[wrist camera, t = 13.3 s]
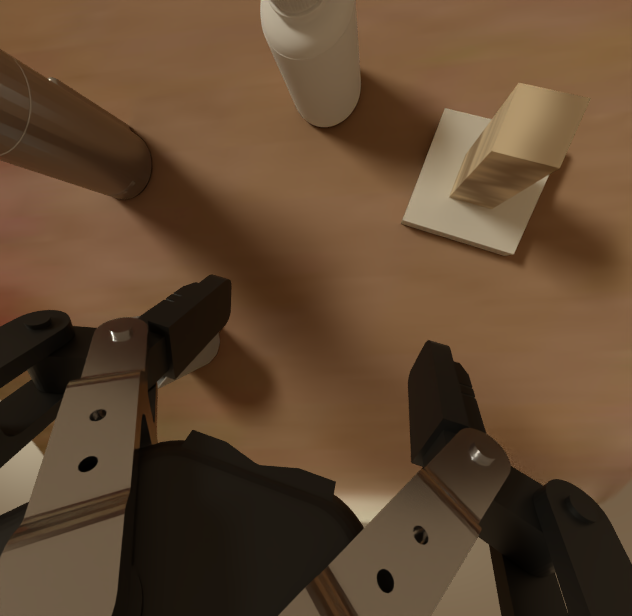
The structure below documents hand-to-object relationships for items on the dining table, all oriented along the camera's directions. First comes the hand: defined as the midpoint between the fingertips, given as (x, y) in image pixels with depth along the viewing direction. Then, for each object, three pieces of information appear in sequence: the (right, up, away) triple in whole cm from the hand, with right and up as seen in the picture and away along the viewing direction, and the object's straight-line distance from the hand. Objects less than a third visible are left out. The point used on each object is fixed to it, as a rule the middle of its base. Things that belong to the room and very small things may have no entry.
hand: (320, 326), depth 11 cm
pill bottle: (+1, +26, +23) cm, 35 cm away
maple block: (+17, +14, +18) cm, 29 cm away
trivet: (+17, +14, +20) cm, 30 cm away
